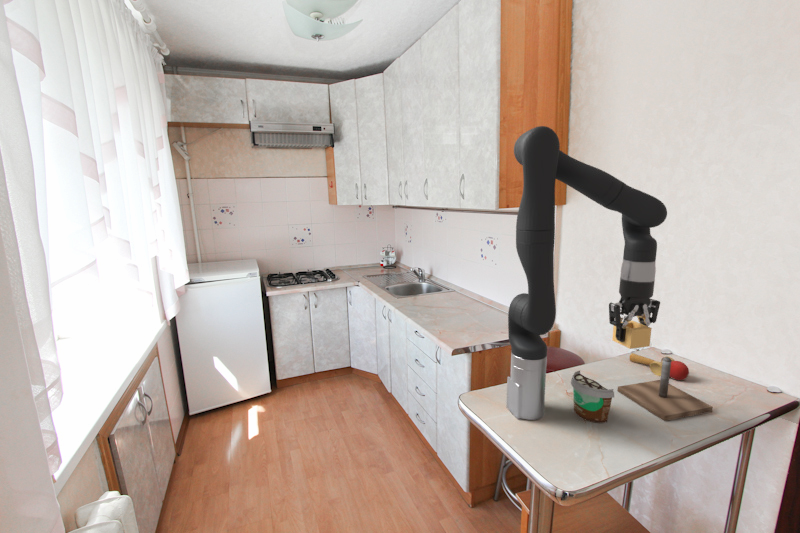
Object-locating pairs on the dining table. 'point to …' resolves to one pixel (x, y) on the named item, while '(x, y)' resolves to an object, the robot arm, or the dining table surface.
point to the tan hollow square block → (635, 335)
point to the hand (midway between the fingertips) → (631, 339)
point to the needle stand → (664, 397)
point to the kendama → (676, 371)
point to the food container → (591, 399)
